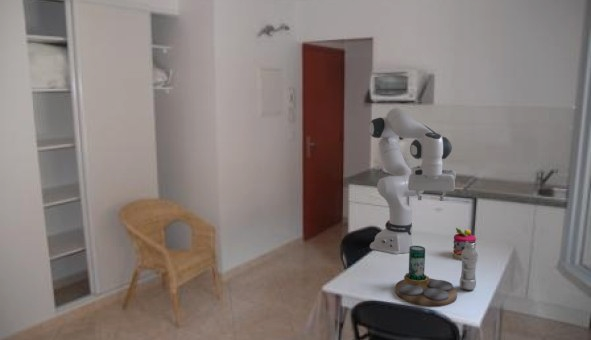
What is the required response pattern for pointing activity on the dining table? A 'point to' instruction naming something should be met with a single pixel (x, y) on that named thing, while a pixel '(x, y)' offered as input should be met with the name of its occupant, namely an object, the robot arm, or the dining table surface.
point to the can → (416, 263)
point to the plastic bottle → (468, 266)
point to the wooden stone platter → (426, 291)
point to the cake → (461, 242)
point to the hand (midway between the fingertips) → (430, 200)
